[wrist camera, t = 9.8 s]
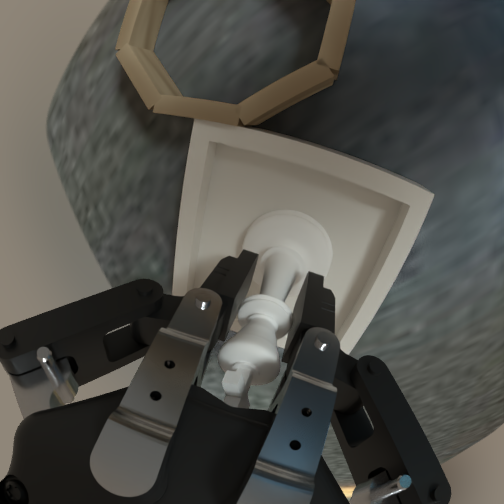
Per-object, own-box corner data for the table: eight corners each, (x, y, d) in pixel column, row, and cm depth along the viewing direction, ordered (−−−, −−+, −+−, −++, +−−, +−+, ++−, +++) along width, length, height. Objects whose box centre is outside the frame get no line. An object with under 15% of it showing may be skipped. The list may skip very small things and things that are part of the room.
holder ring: (362, -31, 7) (366, -52, 5) (318, 144, 13) (318, 147, 11) (173, -42, 9) (154, -56, 6) (129, 107, 14) (103, 108, 12)
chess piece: (249, 288, 17) (176, 433, 8) (238, 210, 15) (118, 339, 6) (331, 291, 15) (315, 460, 7) (332, 208, 13) (330, 372, 4)
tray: (420, 184, 12) (434, 194, 10) (341, 342, 18) (341, 364, 16) (212, 118, 14) (194, 118, 12) (185, 289, 20) (171, 306, 18)
